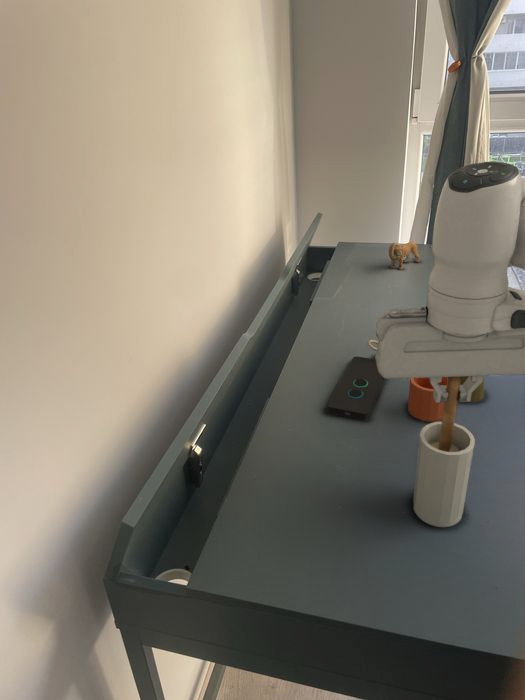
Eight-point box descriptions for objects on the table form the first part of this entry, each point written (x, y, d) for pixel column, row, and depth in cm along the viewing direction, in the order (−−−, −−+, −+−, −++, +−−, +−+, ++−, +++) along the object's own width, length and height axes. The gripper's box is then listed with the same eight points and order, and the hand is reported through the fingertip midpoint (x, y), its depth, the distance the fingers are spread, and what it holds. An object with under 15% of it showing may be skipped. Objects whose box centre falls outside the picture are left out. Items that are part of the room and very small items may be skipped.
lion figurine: (398, 274, 160) (399, 246, 156) (383, 270, 164) (384, 242, 159) (423, 260, 169) (425, 232, 165) (408, 256, 173) (410, 229, 168)
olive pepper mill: (474, 383, 108) (481, 336, 103) (490, 399, 103) (498, 351, 98) (446, 387, 108) (452, 340, 102) (461, 404, 103) (468, 356, 97)
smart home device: (325, 405, 103) (353, 355, 118) (325, 412, 103) (353, 361, 119) (367, 413, 99) (390, 360, 115) (367, 421, 100) (390, 367, 116)
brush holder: (442, 398, 105) (446, 368, 101) (452, 421, 98) (456, 390, 95) (404, 399, 105) (407, 369, 102) (412, 422, 99) (414, 391, 96)
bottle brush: (450, 476, 80) (468, 352, 69) (458, 498, 77) (479, 370, 66) (420, 477, 81) (434, 353, 70) (427, 498, 77) (443, 371, 66)
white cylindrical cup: (455, 491, 83) (466, 420, 76) (468, 527, 77) (481, 454, 70) (409, 491, 84) (415, 422, 77) (418, 527, 78) (426, 455, 71)
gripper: (380, 321, 62) (376, 415, 69) (562, 314, 60) (538, 412, 67) (373, 298, 67) (369, 388, 74) (540, 292, 66) (520, 384, 72)
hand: (451, 399), depth 71 cm, fingers closed on bottle brush
